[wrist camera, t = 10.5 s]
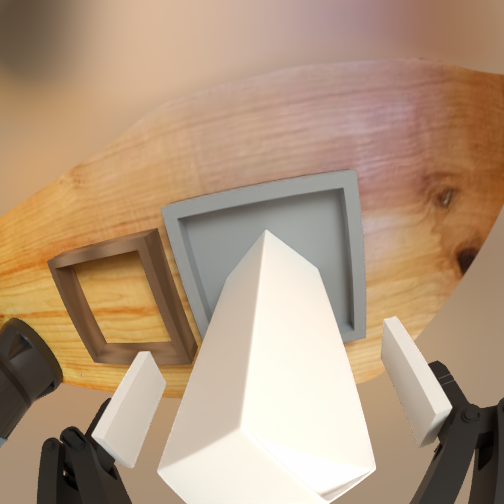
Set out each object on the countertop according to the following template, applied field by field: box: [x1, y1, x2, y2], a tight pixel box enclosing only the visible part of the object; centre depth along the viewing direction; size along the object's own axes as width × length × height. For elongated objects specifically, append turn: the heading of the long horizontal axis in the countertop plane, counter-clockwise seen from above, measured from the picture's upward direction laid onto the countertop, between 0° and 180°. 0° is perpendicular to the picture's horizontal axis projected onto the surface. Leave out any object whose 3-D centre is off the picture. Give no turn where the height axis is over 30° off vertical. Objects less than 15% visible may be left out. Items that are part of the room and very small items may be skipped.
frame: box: [47, 228, 198, 365], centre depth 27 cm, size 14×14×3 cm
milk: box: [157, 230, 376, 504], centre depth 14 cm, size 6×6×22 cm
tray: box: [161, 169, 366, 343], centre depth 24 cm, size 16×16×2 cm
